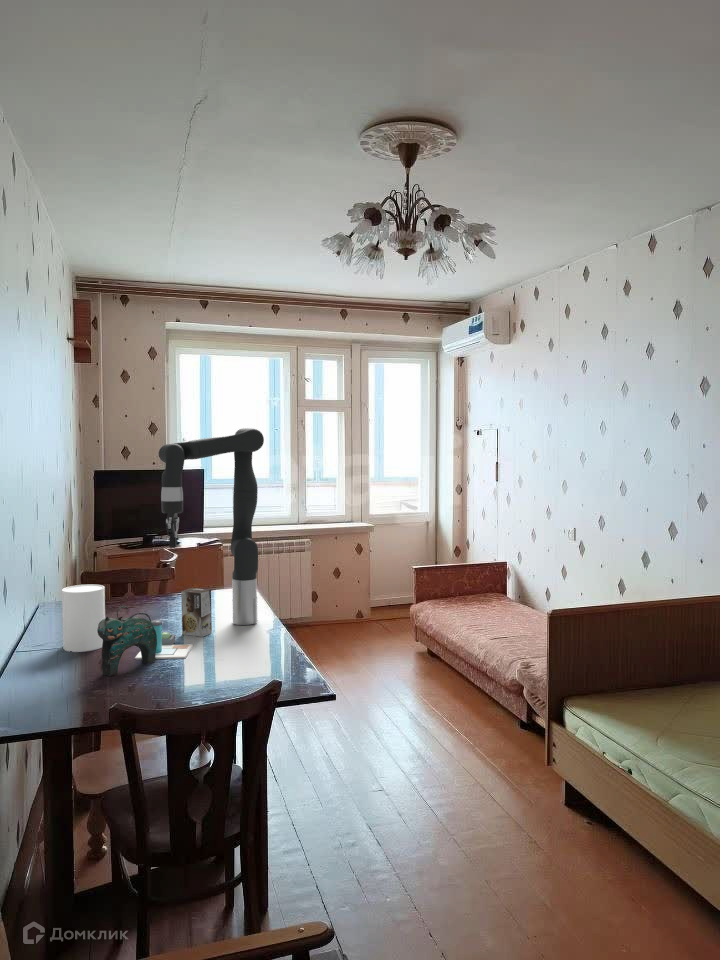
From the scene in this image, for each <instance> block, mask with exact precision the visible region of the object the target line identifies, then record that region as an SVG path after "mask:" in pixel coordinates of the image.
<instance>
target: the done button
mask: <svg viewBox="0 0 720 960" xmlns="http://www.w3.org/2000/svg"><path fill="white" fill-rule="evenodd" d="M170 635H171V632H168V631H164V632H162V639H170Z"/></svg>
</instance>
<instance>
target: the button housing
mask: <svg viewBox="0 0 720 960" xmlns="http://www.w3.org/2000/svg"><path fill="white" fill-rule="evenodd" d="M175 642H176V634H170V639H162V645H175Z"/></svg>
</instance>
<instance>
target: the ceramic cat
mask: <svg viewBox="0 0 720 960" xmlns="http://www.w3.org/2000/svg"><path fill="white" fill-rule="evenodd" d="M121 608H126V610H128V609H129V607H128V606H127V605H121V606H119V607H118V608H117V611H116V617H117V618H112V617H108V616H105V619H103V620H102V621H100V623H99V624H98V630H97V632H98V635H99V636H100V638H102V639H103V644H102V648H101V669H102V671H101V672H102V675H103V674H104V675H103V676H106V675H108V676H107V677H112V676H111V675H113V676H116V675H117V674H118V669H119V664H120V660H121V658H122V656H123V654H124V652H125V651H126V650H128V649H129V648H131V647H137V648H138V649H139V651H141V655H142V659H141V662H142V663H144V664H152V663H155V661H156V659H155V654H156V647H157V635H156V631H155V629H154V626H153V625H152V623H151V621H152V620H151V618H150V617H151V616H150V615H149V614H148V613H145V612H137V613H134V614H132V615H130V616H128V617H126V618H123V617H124V616H119V610H120V609H121ZM137 615H145V616H146V617H148V619H147V618H144V617H141V616H137ZM115 674H116V675H115Z"/></svg>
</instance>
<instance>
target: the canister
mask: <svg viewBox="0 0 720 960" xmlns="http://www.w3.org/2000/svg"><path fill="white" fill-rule="evenodd" d="M105 588H106V587H105V586H104V585H102V584H96V583H95V584H93V583H92V584H77V585H71V586H67V587H64V588H62V589H61V603H62V607H61V610H62V643H63V644H62V645H63V646H62V648H63V650H64V651H66V652H70V651H72V653H79V652H81V653H82V652H91V651H95V650H99V649H102V644H103V639H102V638H100V636H99V635H98V632H97V630H98V624H99V623H100V621H102V620H103V619H105V618H106V595H105V593H106V592H105V591H106V590H105Z"/></svg>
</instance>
